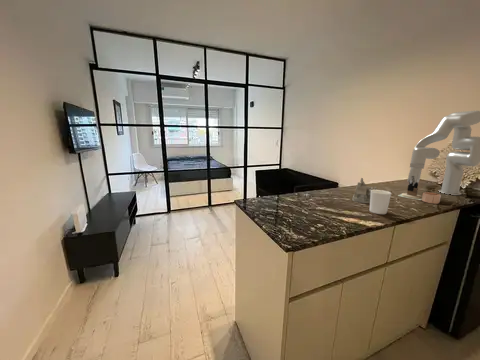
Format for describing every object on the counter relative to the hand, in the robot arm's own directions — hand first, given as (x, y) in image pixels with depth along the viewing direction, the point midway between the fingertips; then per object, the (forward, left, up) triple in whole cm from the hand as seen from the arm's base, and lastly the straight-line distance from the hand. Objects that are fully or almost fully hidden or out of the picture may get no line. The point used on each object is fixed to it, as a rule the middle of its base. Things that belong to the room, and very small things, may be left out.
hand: (412, 189), depth 146 cm
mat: (0, 0, -6) cm, 6 cm away
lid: (0, 0, -5) cm, 5 cm away
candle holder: (+51, -3, -6) cm, 51 cm away
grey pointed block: (+33, -17, -6) cm, 38 cm away
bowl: (+5, +11, -6) cm, 13 cm away
